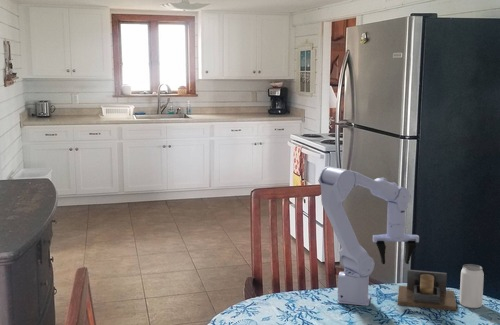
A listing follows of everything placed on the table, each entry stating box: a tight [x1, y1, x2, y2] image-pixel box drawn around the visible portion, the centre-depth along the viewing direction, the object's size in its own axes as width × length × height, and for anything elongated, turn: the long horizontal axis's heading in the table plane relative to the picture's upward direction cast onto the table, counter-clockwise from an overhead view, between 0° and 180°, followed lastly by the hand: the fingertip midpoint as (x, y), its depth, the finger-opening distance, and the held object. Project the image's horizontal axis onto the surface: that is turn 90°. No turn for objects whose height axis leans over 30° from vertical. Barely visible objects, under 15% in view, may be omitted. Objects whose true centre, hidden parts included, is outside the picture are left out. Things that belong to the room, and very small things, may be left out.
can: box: [459, 263, 485, 309], centre depth 169 cm, size 6×6×12 cm
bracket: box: [397, 269, 457, 311], centre depth 174 cm, size 17×13×7 cm
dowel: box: [420, 274, 434, 294], centre depth 172 cm, size 4×4×7 cm
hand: (394, 263), depth 180 cm, fingers open, 7 cm apart
